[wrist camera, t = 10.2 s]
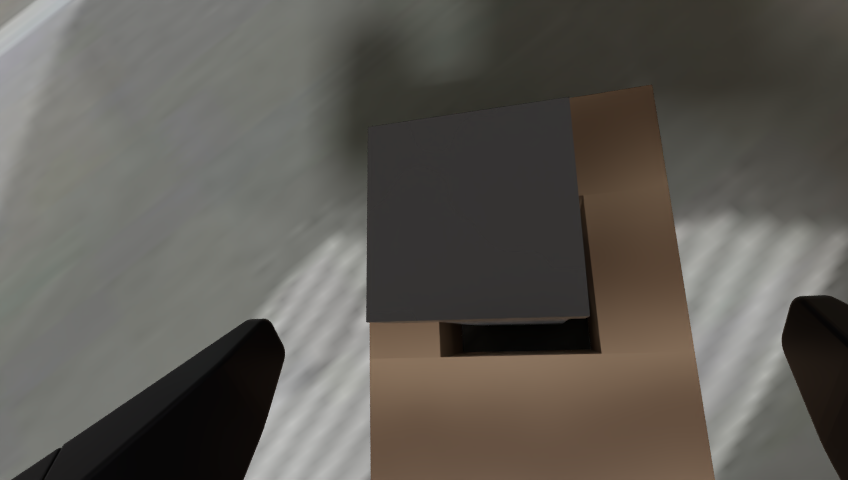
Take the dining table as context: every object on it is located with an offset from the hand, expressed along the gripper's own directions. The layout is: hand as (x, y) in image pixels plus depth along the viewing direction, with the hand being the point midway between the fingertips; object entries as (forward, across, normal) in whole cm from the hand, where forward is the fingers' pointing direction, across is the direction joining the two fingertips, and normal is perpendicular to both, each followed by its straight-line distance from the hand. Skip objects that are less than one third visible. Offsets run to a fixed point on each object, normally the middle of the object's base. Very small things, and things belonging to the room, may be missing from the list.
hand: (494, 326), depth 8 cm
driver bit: (+9, 0, +6) cm, 11 cm away
